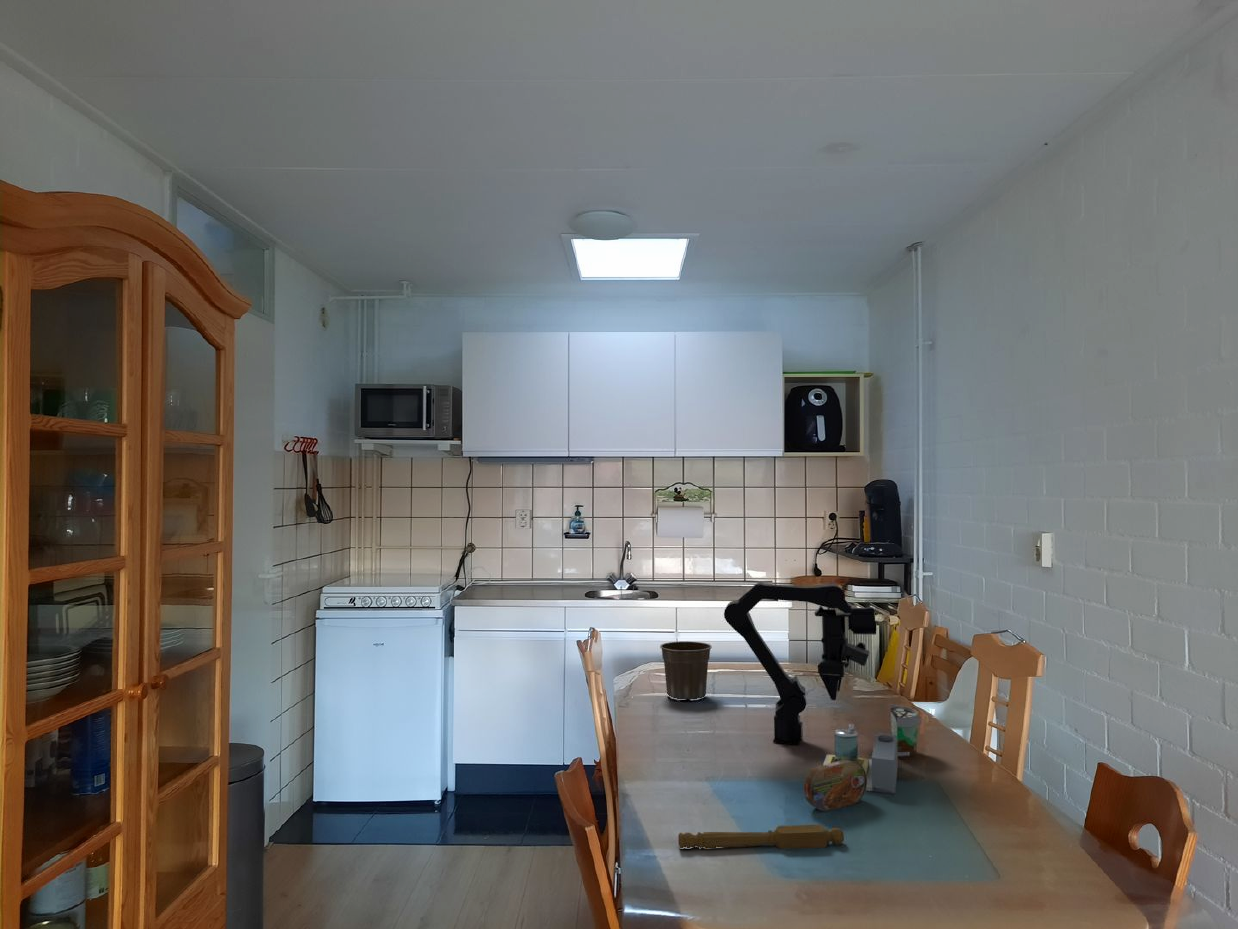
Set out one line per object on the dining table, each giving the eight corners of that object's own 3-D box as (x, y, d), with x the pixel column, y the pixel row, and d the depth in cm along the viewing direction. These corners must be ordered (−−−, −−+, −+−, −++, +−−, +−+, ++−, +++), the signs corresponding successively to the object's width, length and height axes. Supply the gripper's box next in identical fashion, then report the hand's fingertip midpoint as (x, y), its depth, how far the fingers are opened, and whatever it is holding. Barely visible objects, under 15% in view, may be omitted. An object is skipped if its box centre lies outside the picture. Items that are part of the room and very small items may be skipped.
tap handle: (677, 829, 140) (840, 823, 141) (678, 846, 140) (840, 840, 141) (679, 837, 137) (845, 831, 138) (680, 854, 137) (846, 848, 138)
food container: (926, 762, 181) (924, 719, 181) (898, 761, 182) (897, 718, 182) (916, 745, 193) (915, 705, 193) (890, 744, 194) (889, 704, 194)
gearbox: (817, 784, 168) (816, 749, 168) (826, 758, 185) (826, 725, 185) (894, 794, 162) (893, 757, 162) (897, 765, 179) (896, 732, 179)
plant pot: (678, 688, 254) (677, 638, 254) (721, 695, 244) (720, 643, 245) (651, 699, 240) (650, 647, 241) (695, 706, 231) (694, 652, 232)
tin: (812, 815, 152) (811, 772, 152) (801, 810, 155) (801, 767, 155) (868, 800, 159) (867, 759, 159) (857, 795, 162) (856, 755, 162)
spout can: (833, 772, 173) (832, 726, 173) (836, 764, 178) (835, 720, 178) (857, 775, 171) (856, 728, 171) (859, 767, 176) (858, 722, 176)
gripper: (864, 642, 185) (866, 707, 184) (869, 629, 202) (871, 689, 202) (816, 639, 189) (818, 703, 188) (825, 627, 206) (827, 686, 206)
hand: (835, 695), depth 196 cm, fingers open, 9 cm apart
